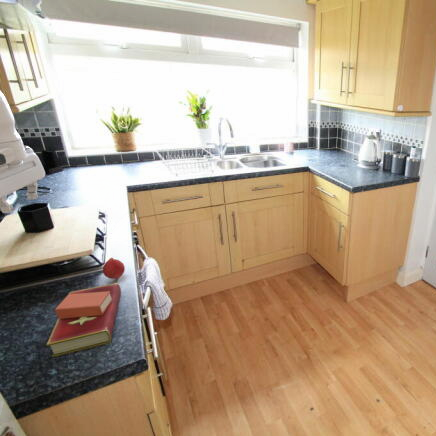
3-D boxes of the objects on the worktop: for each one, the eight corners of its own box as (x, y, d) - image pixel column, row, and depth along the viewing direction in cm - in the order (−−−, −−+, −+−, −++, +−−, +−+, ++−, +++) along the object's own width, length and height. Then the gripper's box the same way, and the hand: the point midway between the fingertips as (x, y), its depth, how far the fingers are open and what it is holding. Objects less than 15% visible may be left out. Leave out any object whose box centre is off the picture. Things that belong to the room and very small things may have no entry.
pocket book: (58, 319, 80) (54, 309, 79) (71, 303, 85) (68, 294, 84) (102, 315, 82) (99, 305, 80) (112, 300, 87) (109, 291, 86)
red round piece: (102, 284, 100) (96, 263, 97) (110, 274, 105) (104, 253, 102) (123, 283, 101) (117, 261, 98) (129, 273, 106) (124, 252, 103)
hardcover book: (122, 293, 96) (118, 281, 95) (112, 342, 79) (107, 329, 77) (73, 303, 92) (69, 291, 90) (52, 357, 74) (46, 343, 73)
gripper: (16, 144, 86) (33, 192, 92) (-51, 163, 68) (-24, 221, 74) (42, 144, 87) (58, 191, 93) (-17, 162, 69) (7, 220, 75)
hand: (21, 205), depth 83 cm, fingers open, 8 cm apart
